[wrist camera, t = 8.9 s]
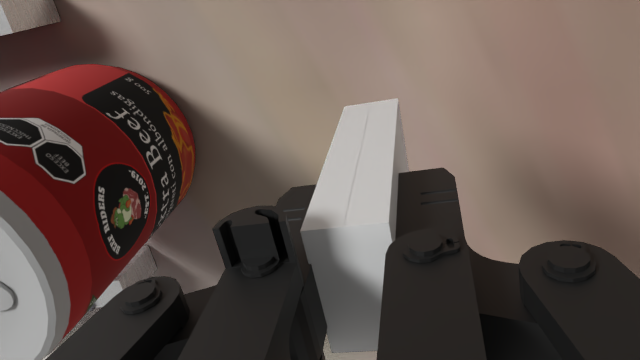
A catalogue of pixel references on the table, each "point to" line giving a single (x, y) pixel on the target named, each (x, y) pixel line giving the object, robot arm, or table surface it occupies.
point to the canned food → (80, 193)
